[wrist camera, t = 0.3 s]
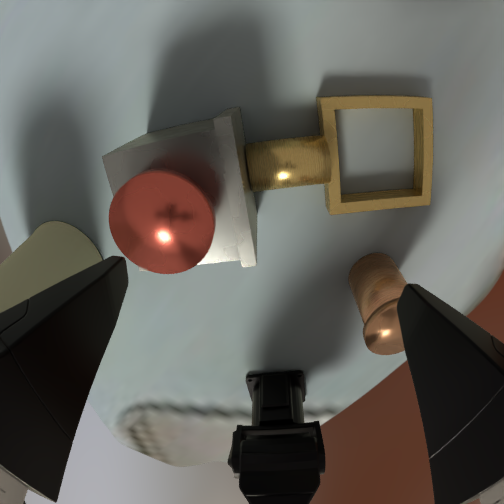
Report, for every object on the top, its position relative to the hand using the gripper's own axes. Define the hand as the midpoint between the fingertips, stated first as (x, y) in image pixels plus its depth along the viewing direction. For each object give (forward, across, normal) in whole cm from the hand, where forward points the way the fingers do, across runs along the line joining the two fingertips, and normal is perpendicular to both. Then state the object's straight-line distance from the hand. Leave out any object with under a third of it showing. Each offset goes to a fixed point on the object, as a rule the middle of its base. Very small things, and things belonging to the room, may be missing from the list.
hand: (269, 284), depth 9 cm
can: (+14, +18, +10) cm, 25 cm away
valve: (+14, +2, 0) cm, 14 cm away
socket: (+14, -8, -3) cm, 16 cm away
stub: (+14, -11, +8) cm, 19 cm away
